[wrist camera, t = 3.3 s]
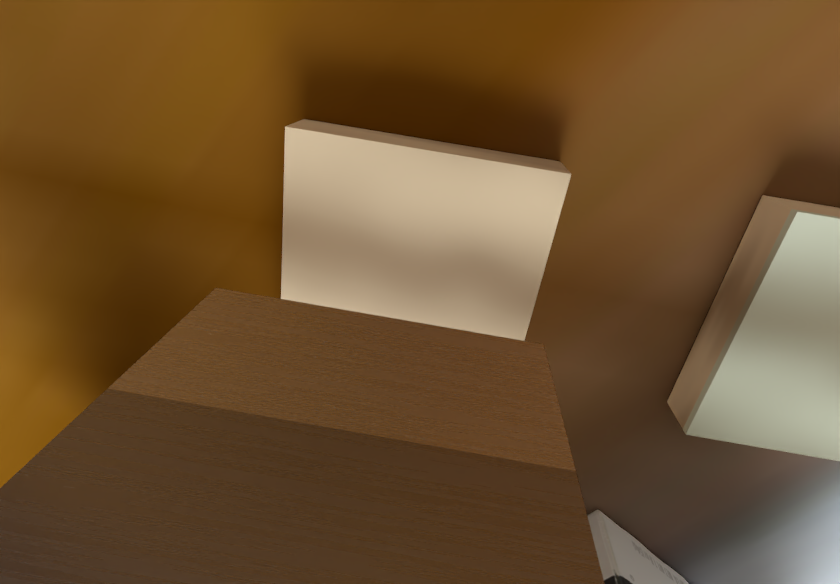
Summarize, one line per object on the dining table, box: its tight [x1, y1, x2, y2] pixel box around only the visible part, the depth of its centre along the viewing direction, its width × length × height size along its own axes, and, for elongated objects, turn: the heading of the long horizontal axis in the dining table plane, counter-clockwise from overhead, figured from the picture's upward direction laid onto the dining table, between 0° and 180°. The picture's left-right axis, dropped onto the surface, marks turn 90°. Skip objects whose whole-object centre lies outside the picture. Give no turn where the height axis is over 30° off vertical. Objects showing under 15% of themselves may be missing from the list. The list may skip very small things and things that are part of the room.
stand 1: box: [281, 119, 571, 341], centre depth 18 cm, size 9×9×2 cm
